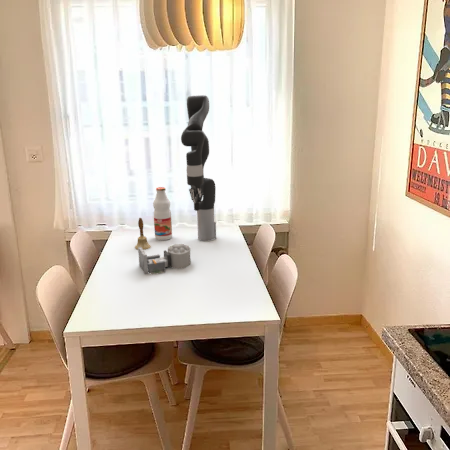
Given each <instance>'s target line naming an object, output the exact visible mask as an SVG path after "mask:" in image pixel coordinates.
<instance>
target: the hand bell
mask: <svg viewBox="0 0 450 450" xmlns="http://www.w3.org/2000/svg"><path fill="white" fill-rule="evenodd" d="M137 225H138V229H139V235H140V236H138V237H137V242H136V245H135V246H134V249H135V250H137V251H138V247H142V249H143V250H144V251H145V250H149V249H151V248H152V245H150V243H149V242H148V239H147V237H146V236H145V235H144V221H143V218H142V217H139V218H138V223H137Z"/></svg>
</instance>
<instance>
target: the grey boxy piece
mask: <svg viewBox="0 0 450 450" xmlns="http://www.w3.org/2000/svg"><path fill="white" fill-rule="evenodd" d="M159 261H164V262H165V268H171V267H170V254H169V253H168V250H163V257H161V256H160V258H154V259H147V263H152V262H154V264H156V262H159Z"/></svg>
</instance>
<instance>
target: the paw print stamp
mask: <svg viewBox="0 0 450 450" xmlns="http://www.w3.org/2000/svg"><path fill="white" fill-rule="evenodd" d="M167 252H168V253H169V254H170V267H169V268H172V269H177V270H182V269H186V268H189V266H191V265H192V263H191V248H190V246H189V245H187V244H185V243H177V244H176V243H175V244H174V243H173V244H172V245H171V246H168V248H167Z"/></svg>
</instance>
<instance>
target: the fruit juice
mask: <svg viewBox="0 0 450 450" xmlns="http://www.w3.org/2000/svg"><path fill="white" fill-rule="evenodd" d="M155 191H156V195H155V198H154V200H153V203H152V204H153V205H152V206H153V209H154V211H153V226H154V238H155V240H158V241H168V240H170V239H172V238H173V229H172V225H173V224H172V211H171V202H170V200H169V197H168V196H167V194H166V187H164V186H158V187H156V189H155Z"/></svg>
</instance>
